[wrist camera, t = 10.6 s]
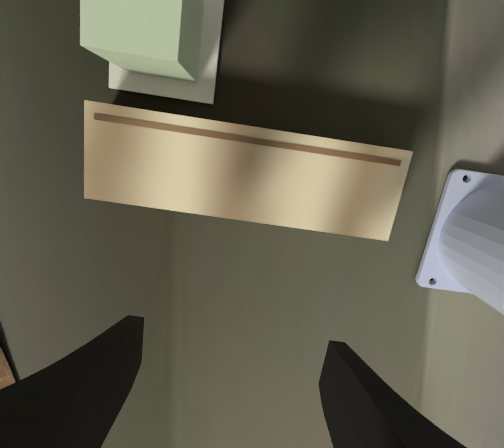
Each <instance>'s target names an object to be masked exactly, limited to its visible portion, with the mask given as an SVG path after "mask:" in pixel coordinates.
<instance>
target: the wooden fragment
mask: <svg viewBox="0 0 504 448" xmlns="http://www.w3.org/2000/svg"><path fill="white" fill-rule="evenodd" d="M13 383H15V379H14V377H13V375H12V372H11V369H10V367H9V364H8V362H7V361H6V358H5V356H4V353H3V351H2V349H1V347H0V389H2V388H4V387H6V386H9V385H11V384H13Z"/></svg>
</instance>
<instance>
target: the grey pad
mask: <svg viewBox="0 0 504 448" xmlns="http://www.w3.org/2000/svg"><path fill="white" fill-rule="evenodd" d="M204 2H205V7H204V17H203V28H202V38H201V49H200V59H199V70H198V80H197V83H196V82H190V81H184V80H178V79H172V78H165V77H159V76H153V75H147V74H141V73H135V72H129V71H126V70H124V69H122V68H120V67H119V66H117V65H115V64H113V63H111V62H109V88H112V89H118V90H124V91H131V92H137V93H143V94H150V95H156V96H162V97H169V98H175V99H181V100H188V101H194V102H200V103H207V104H213V101H214V92H215V83H216V74H217V64H218V55H219V46H220V36H221V27H222V18H223V8H224V0H204Z"/></svg>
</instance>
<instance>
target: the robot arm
mask: <svg viewBox="0 0 504 448" xmlns="http://www.w3.org/2000/svg"><path fill="white" fill-rule="evenodd" d="M465 175H467V179H466V181H464V182H463V177H464V176H465ZM431 278H433V281H432V282H429V280H430V279H431ZM416 282H417V283H418V284H419V285H420V286H422V287H428V288H435V289H443V290H450V291H457V292H465V293H472V294H474V295H476V296H477V297H479V298H480V299H481V300H483V301H484V302H486V303H487V304H489V305H490V306H492V307H493V308H494V309H496V310H497V311H499V312H500V313H502V314H503V315H504V176H502V175H496V174H489V173H483V172H476V171H470V170H463V169H454V170H452V171H451V172H450V173H449V174H448V177H447V180H446V183H445V186H444V189H443V193H442V196H441V199H440V202H439V205H438V209H437V212H436V215H435V218H434V221H433V224H432V228H431V231H430V234H429V237H428V240H427V243H426V247H425V250H424V253H423V256H422V259H421V262H420V266H419V269H418V272H417V275H416ZM143 328H144V317H138V316H130V315H128V316H126V317H125V318H123V319H122V320H120V321H119V322H118V323H116V324H115V325H113V326H112V327H110V328H109V329H107V330H106V331H105V332H103V333H102V334H100V335H99V336H97V337H96V338H94V339H93V340H91V341H90V342H88V343H87V344H85V345H84V346H82V347H80V348H79V349H77V350H75V351H74V352H72V353H70V354H69V355H67V356H65V357H64V358H62V359H61V360H59V361H57V362H55V363H53V364H52V365H50V366H48V367H46V368H44V369H42V370H40V371H38V372H36V373H34V374H32V375H30V376H28V377H26V378H24V379H22V380H20V381H18V382H15V383H13V384H11V385H9V386H6V387H4V388H2V389H0V448H101V446H102V444H103V442H104V440H105V438H106V436H107V434H108V432H109V431H110V429H111V427H112V425H113V423H114V421H115V419H116V417H117V415H118V413H119V412H120V410H121V408H122V406H123V404H124V402H125V400H126V398H127V396H128V394H129V392H130V390H131V388H132V386H133V383H134V381H135V378H136V376H137V373H138V370H139V367H140V365H141V360H142V344H143ZM319 389H320V396H321V402H322V408H323V412H324V416H325V419H326V423H327V426H328V430H329V433H330V437H331V440H332V444H333V447H334V448H466V447H465V446H464V445H462V444H461V443H459V442H458V441H456V440H455V439H453V438H452V437H451V436H449V435H448V434H446V433H445V432H444V431H442V430H441V429H440V428H438V427H437V426H436V425H434V424H433V423H432V422H431V421H429V420H428V419H427V418H425V417H424V416H423V415H422V414H420V413H419V412H418V411H417V410H415V409H414V408H413V407H412V406H411V405H409V404H408V403H407V402H406V401H405V400H404V399H403V398H402V397H400V396H399V395H398V394H397V393H396V392H395V391H394V390H393V389H392V388H391V387H389V386H388V385H387V384H386V383H385V382H384V381H383V380H382V379H381V378H380V377H379V376H378V375H377V374H376V373H375V372H374V371H373V370H372V369H371V368H370V367H369V366H368V365H367V364H366V363H365V362H364V361H363V360H362V359H361V358H360V357H359V356H358V355H357V354H356V353H355V352H354V351H353V350H352V349H351V348H350V347H349V346H348V345H347V344H346V343H345V342H338V341H330V340H329V344H328V348H327V352H326V356H325V360H324V364H323V368H322V372H321V376H320V380H319Z"/></svg>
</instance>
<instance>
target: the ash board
mask: <svg viewBox="0 0 504 448" xmlns="http://www.w3.org/2000/svg"><path fill="white" fill-rule="evenodd" d="M412 154H413V151H408V150H401V149H395V148H388V147H382V146H375V145H369V144H363V143H356V142H350V141H343V140H337V139H330V138H324V137H318V136H311V135H305V134H298V133H292V132H285V131H279V130H273V129H266V128H260V127H253V126H247V125H240V124H234V123H228V122H221V121H215V120H208V119H202V118H195V117H189V116H183V115H176V114H170V113H163V112H157V111H150V110H144V109H138V108H131V107H125V106H118V105H112V104H105V103H99V102H93V101H86V100H84V198H88V199H95V200H102V201H109V202H116V203H123V204H130V205H137V206H144V207H151V208H158V209H165V210H172V211H180V212H187V213H194V214H201V215H208V216H215V217H222V218H229V219H236V220H243V221H250V222H257V223H264V224H271V225H279V226H286V227H293V228H300V229H307V230H314V231H321V232H328V233H335V234H342V235H349V236H356V237H363V238H371V239H378V240H385V241H388V240H389V236H390V233H391V229H392V225H393V222H394V218H395V215H396V211H397V208H398V204H399V200H400V197H401V193H402V190H403V186H404V183H405V179H406V175H407V172H408V168H409V165H410V161H411V158H412Z"/></svg>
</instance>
